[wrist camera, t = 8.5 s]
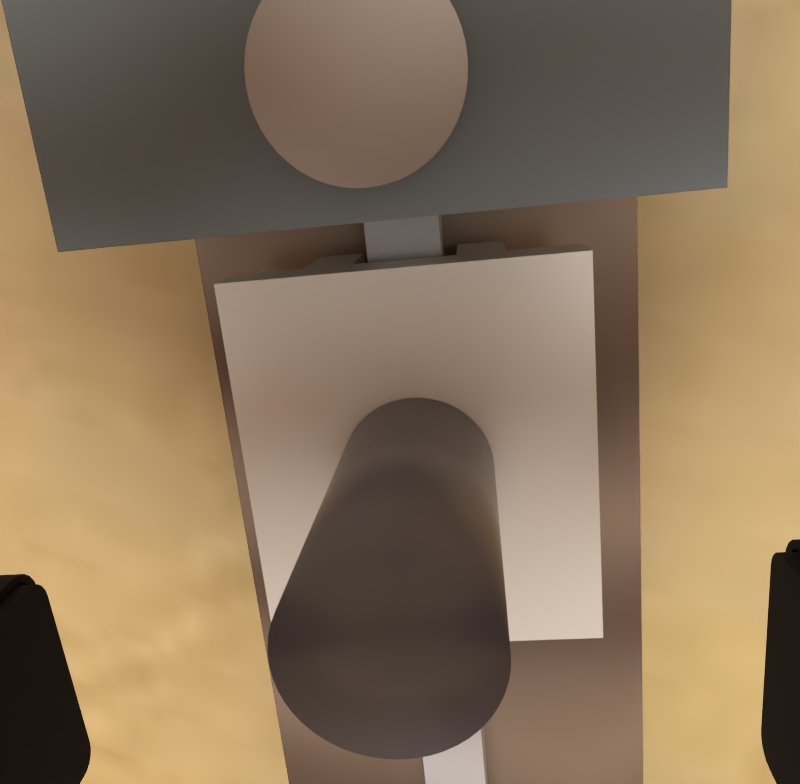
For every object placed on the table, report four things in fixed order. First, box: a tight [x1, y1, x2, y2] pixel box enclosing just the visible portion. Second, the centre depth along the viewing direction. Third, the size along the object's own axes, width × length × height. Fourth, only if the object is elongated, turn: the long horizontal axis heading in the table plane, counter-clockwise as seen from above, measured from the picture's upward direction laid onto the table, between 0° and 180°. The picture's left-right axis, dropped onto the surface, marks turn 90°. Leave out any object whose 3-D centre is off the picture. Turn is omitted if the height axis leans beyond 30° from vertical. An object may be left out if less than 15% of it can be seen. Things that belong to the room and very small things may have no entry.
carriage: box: [214, 240, 603, 760], centre depth 14 cm, size 8×7×9 cm
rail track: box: [2, 0, 731, 784], centre depth 17 cm, size 28×10×8 cm, turn 6°
